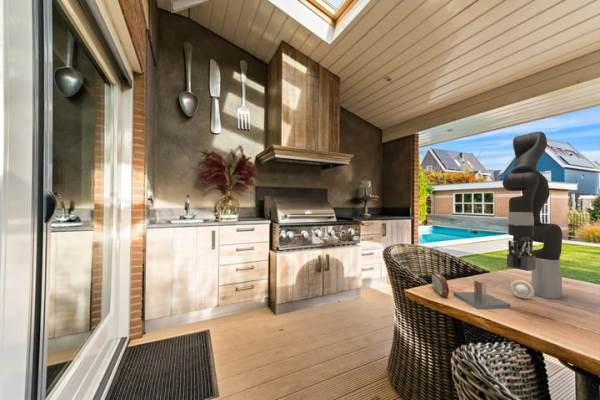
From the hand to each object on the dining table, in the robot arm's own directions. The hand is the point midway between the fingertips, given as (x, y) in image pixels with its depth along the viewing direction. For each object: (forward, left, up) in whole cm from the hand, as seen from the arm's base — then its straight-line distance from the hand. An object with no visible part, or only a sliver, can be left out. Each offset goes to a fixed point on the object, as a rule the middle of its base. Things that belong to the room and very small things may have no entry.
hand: (520, 266), depth 95 cm
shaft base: (+8, -10, -18) cm, 22 cm away
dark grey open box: (0, 0, -1) cm, 1 cm away
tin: (+19, -21, -18) cm, 34 cm away
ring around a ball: (-13, -12, -18) cm, 25 cm away
